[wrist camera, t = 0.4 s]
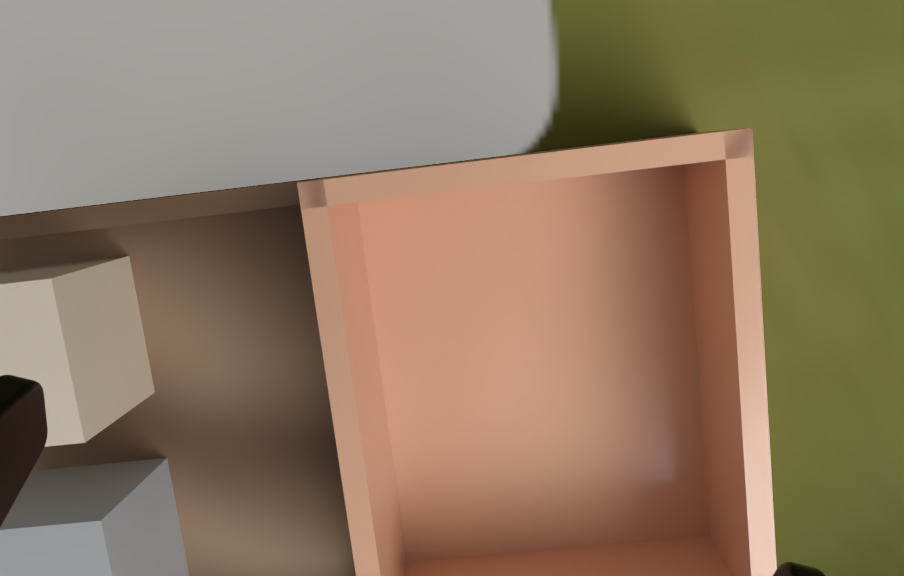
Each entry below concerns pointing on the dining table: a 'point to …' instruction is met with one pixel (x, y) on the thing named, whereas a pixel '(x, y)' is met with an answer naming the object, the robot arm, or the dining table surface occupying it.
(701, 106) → the dining table surface
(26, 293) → the beige cube
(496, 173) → the pink storage bin
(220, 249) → the parts tray
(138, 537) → the pale grey matte cube
